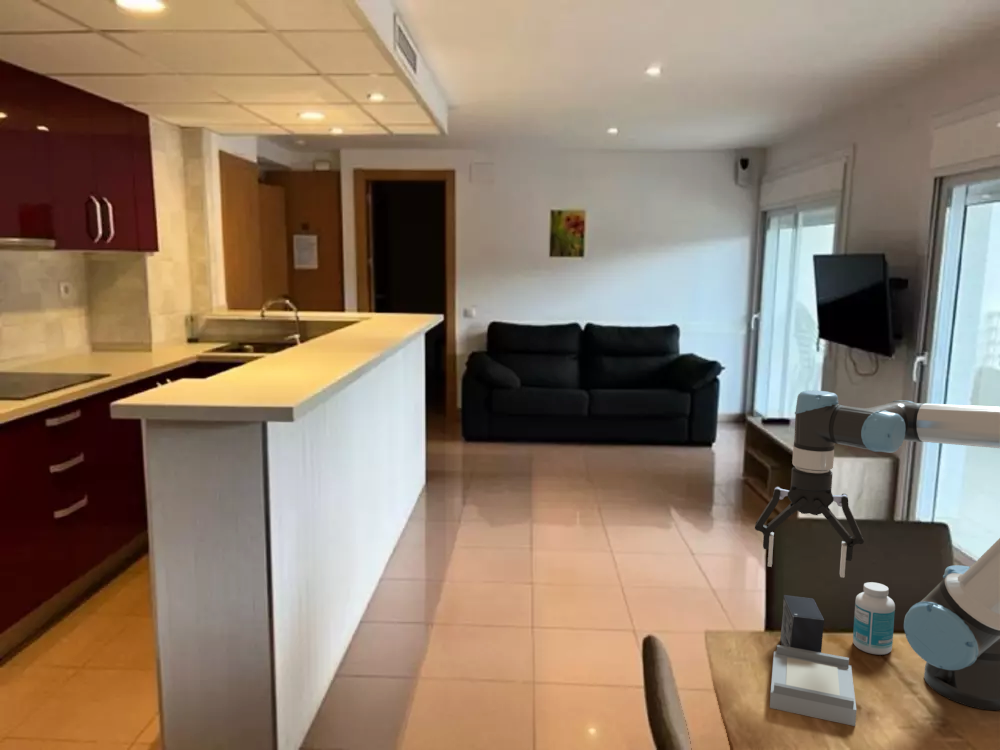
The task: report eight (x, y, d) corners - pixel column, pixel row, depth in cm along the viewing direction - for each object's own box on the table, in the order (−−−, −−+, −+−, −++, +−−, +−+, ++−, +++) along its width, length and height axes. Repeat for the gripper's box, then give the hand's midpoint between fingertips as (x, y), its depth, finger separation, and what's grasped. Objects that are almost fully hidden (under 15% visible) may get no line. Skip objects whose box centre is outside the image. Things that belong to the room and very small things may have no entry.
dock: (849, 680, 142) (851, 658, 142) (855, 726, 128) (857, 702, 127) (773, 665, 148) (774, 644, 147) (769, 707, 133) (771, 684, 132)
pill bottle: (893, 645, 156) (898, 584, 154) (890, 660, 150) (895, 597, 148) (854, 635, 160) (859, 576, 158) (849, 649, 154) (854, 588, 152)
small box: (822, 669, 146) (826, 619, 145) (788, 665, 148) (791, 616, 146) (811, 643, 157) (814, 596, 155) (779, 640, 158) (782, 593, 157)
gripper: (880, 470, 146) (871, 572, 148) (747, 457, 155) (742, 554, 158) (884, 479, 139) (875, 586, 142) (745, 465, 148) (739, 566, 151)
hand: (805, 569), depth 150 cm, fingers open, 13 cm apart
